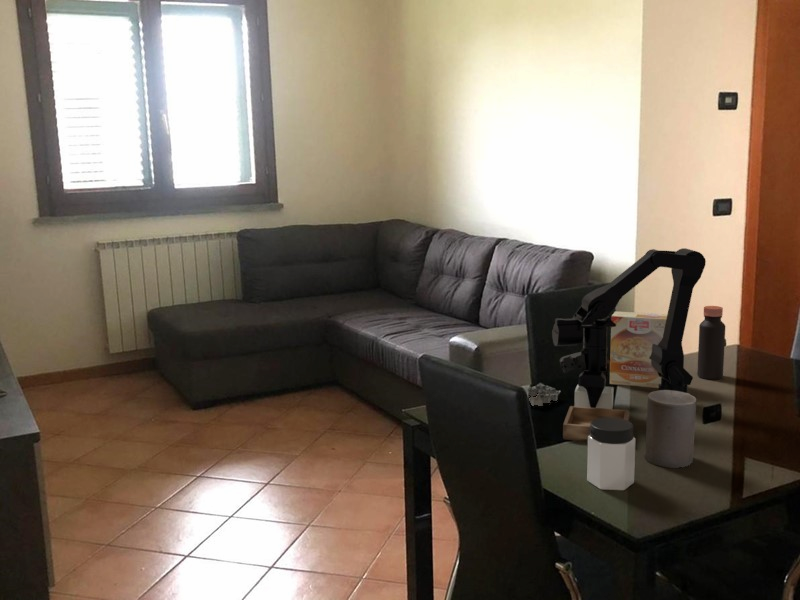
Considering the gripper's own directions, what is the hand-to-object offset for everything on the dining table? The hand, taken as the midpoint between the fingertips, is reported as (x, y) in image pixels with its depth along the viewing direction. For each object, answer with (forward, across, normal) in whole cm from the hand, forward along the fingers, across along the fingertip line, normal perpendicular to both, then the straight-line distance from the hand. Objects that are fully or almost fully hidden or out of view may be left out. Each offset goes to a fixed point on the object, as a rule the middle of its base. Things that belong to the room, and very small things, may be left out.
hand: (594, 404), depth 200 cm
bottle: (+1, -36, +29) cm, 46 cm away
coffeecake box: (+1, -25, +10) cm, 27 cm away
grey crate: (+1, 0, 0) cm, 1 cm away
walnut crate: (+1, +17, +2) cm, 17 cm away
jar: (+1, +45, +7) cm, 46 cm away
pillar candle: (+1, +30, +18) cm, 35 cm away
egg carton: (+2, -2, -14) cm, 15 cm away
